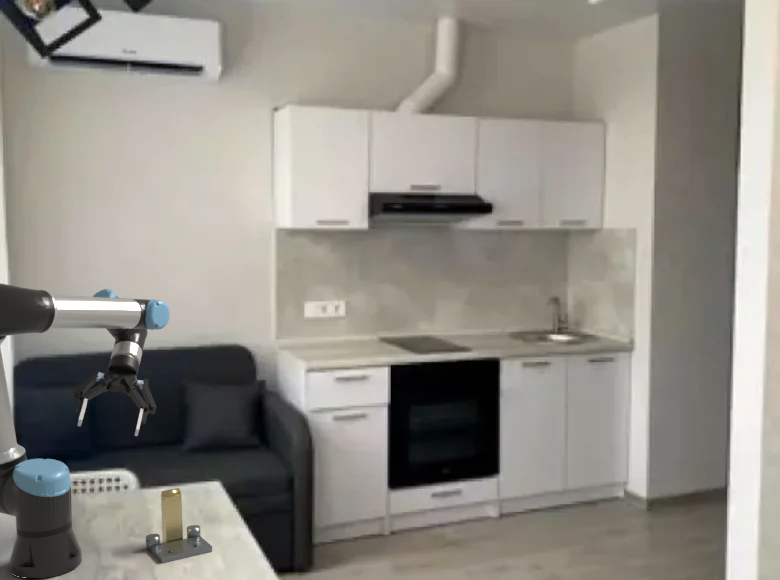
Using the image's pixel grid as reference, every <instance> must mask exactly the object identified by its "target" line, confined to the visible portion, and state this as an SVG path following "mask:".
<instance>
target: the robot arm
mask: <svg viewBox="0 0 780 580" xmlns="http://www.w3.org/2000/svg"><path fill="white" fill-rule="evenodd" d="M170 314H171V312H170V309H169V306H168V304H167V302H165V301H163V300H156V299H146V298H145V299H143V298H140V299H139V298H128V297H127V298H126V297H125V298H124V297H118V295H117V293H115V292H114V291H113V290H112V289H109V288H104V289H101V290H99V291H97V292H96V293H94V294H93V296H81V295H80V296H79V295H78V296H76V295H60V294H59V295H58V294H57V295H56V294H51V293H50V292H49V291H48V290H43V289H32V288H26V287H20V286H16V285H10V284H6V283H0V513H1V514H4V515H9V516H11V517H15V524H16V525H15V526H16V528H15V529H16V538H15V540H14V541H15V542H14V544H13V548H12V552H11V555H10V557H9V558H10V559H9V573H10V572H11V573H12V574H14V575H16V576H19V577H26V578H41V579H47V577H48V578H53V577H56V576H60V575H64V574H67V573H69V572H71V571H73V570H75V569H76V568H78V566H80V565H81V563H82V562H83V558H82V556H83V555H82V548H81V546H80V544H79V542H78V539H77V536H76V534H75V532H74V529H73V516H72V515H73V514H72V513H73V512H72V511H73V510H72V480H71V474H70V469H69V467H68V466H67V465H66V464H65V463H64V462H63V461H61V460H56V459H52V458H46V459H45V458H30V459H28V457H27V453H26V451H27V450H26V449H25V447H23V446H22V445H20V444H18V442H17V436H16V429H15V426H14V425H15V424H14V420H13V419H14V418H13V413H12V412H13V411H12V407H11V401H10V397H9V396H10V395H9V389H8V383H7V379H6V371H5V365H4V360H3V356H2V355H3V354H2V349H1V345H2V343H3V342H4V341H5V340H6V338H7V337H8V336H14V335H16V336H18V335H24V334H43V333H46V332H48V331H49V330H50V329H106V330H107V331H108V332H109V334H111V336H112V337H113V338H114V340H115V341H114V345H113V348H112V351H111V355H110V360H109V363H108V366H107V370H106V372H100V370H99V369H97V368H95V369H94V370H93V372H92V375H91V376H89V377H88V378H87V379H86V380H85V381H84V382H83V383H81V384H80V385H79V386H78V387H77V388H76V389H75V390H73V393H72V401H77V406H76V413H77V414H79V416H78V420H77V421H78V422H77V427H81V426H82V424H83V419H84V417H85V413H86V409H87V404H88V402H89V401H91V400H93V399H95V397H98V396H99V395H102V393H106V392H109V391H111V393H119V394H123V395H124V394H125V393H126V395H127V396H128V397H129V398H131V400H132V401H133V403H134V405H136V406H137V408H138V410H139V414H138V419H137V422H136V423H137V424H136V428H135V432H134V436H135V437H138V436H139V432H140V429H141V428H140V427H141V425H145V424H146V422H147V419H148V415H155V413H156V410H157V405H156V403H155V400H154V397H153V395H152V392H151V390H150V386H149V379H148V378H144V379H143V380H142V379H141V380H140V379H138V374H139V373H138V372H139V369H140V364H141V360H142V356H143V351H144V346H145V343H146V339H147V337H148V330H149V331H150V330H151V331H155V330H161V329H163V328H165V327H166V326H167V325H168V323H169V321H170ZM101 379H102V380H103V381H102V382H101V383H99V384H98V385H96V386H94V385H95V384H96V383H97V382H99V381H100V380H101ZM137 386H138V387H139V389H140V390H141V392H142V395H143V397H142V396H141V394H140V393H139V391H137V389H136V387H137ZM11 573H10V574H11ZM12 574H11V575H12Z"/></svg>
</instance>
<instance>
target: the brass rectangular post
mask: <svg viewBox="0 0 780 580" xmlns="http://www.w3.org/2000/svg"><path fill="white" fill-rule="evenodd" d="M182 504H183V502H182V493H181V489H180V488H179V487H176V488H172V489H165V490H162V491H161V493H160V507H161V529H162V531H161V532H162V544H165V543H170V542H174V541H179V540H184V538H183V537H184V533H183V531H184V530H183V528H184V527H183V505H182Z"/></svg>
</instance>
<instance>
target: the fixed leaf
mask: <svg viewBox="0 0 780 580" xmlns="http://www.w3.org/2000/svg"><path fill="white" fill-rule="evenodd" d="M160 536H161V535H160V534H158V533H150V534H147V535H145V550H146V551H147V552H150V553H151V554H152V555H153V556H154V557H155V558H156V559H157V560H158V561H159V562H160V563H161V564H164V563H169V562H172V561H177V560H181V559H184V558H185V559H186V558H190V557H194V556H198V555H202V554H206V553H210V552H211V553H212V552H213V546H212V545H211V544H210V543H209V542H208V541H207V540H206V539H204V538H203V537H202V536H201V526H200V525H198V524H193V525H188V526H187V527H186V538H183V540H179V541H174V542H170V543H165V544H163V543H162V544H161V538H160Z"/></svg>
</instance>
